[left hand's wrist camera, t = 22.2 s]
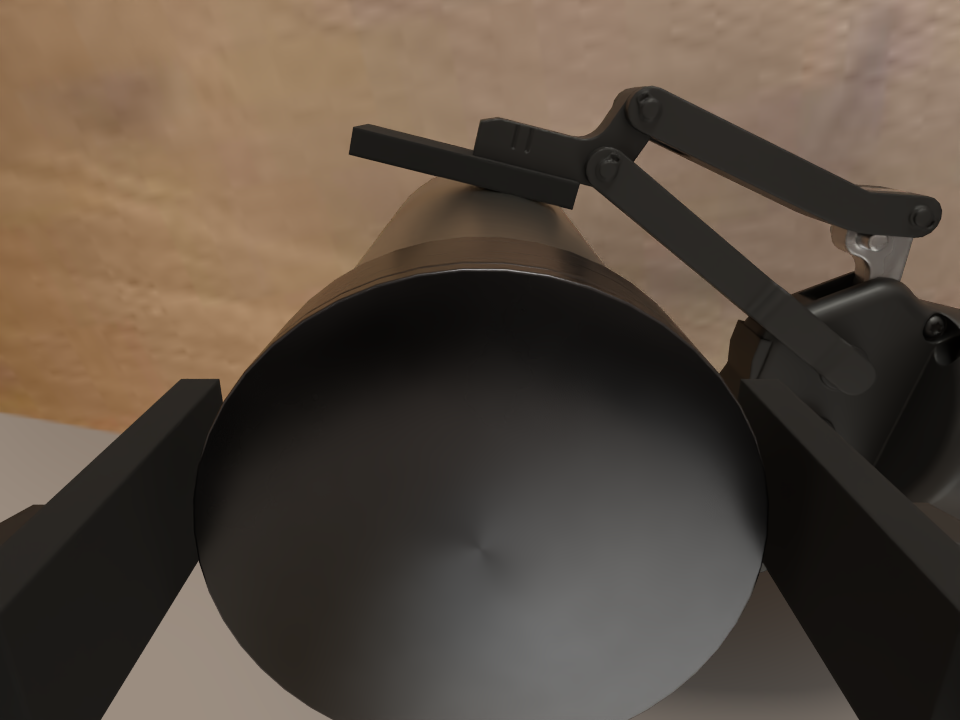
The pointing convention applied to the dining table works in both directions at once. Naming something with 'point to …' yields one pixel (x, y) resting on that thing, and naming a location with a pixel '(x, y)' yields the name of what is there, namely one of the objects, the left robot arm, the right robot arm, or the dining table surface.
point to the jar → (476, 220)
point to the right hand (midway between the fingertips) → (336, 280)
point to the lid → (480, 493)
